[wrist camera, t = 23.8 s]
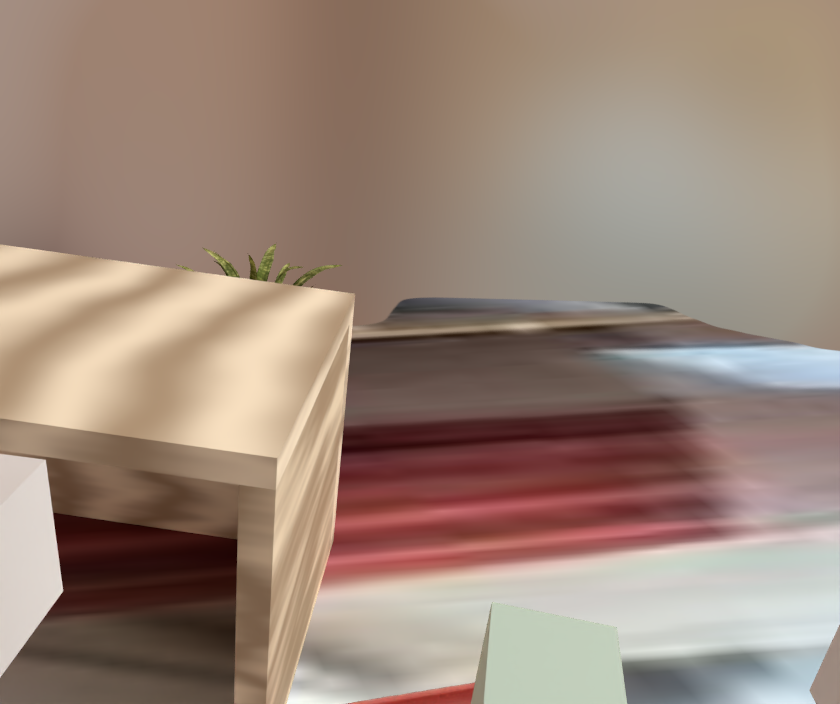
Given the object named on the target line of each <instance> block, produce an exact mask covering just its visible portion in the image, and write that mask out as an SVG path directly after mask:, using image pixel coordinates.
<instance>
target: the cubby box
mask: <svg viewBox="0 0 840 704" xmlns="http://www.w3.org/2000/svg"><path fill="white" fill-rule="evenodd" d="M354 301H355V294H351V293H344V292H337V291H329V290H322V289H315V288H308V287H301V286H294V285H287V284H280V283H273V282H265V281H258V280H251V279H244V278H237V277H229V276H222V275H215V274H208V273H200V272H194V271H186V270H179V269H171V268H164V267H157V266H150V265H142V264H136V263H129V262H122V261H114V260H107V259H100V258H93V257H86V256H79V255H71V254H64V253H57V252H49V251H43V250H35V249H28V248H21V247H14V246H7V245H0V454H5V455H13V456H20V457H28V458H36V459H44V460H46V466H47V473H48V481H49V488H50V496H51V503H52V511H53V513H59V514H66V515H73V516H80V517H87V518H93V519H100V520H107V521H114V522H121V523H128V524H134V525H141V526H148V527H155V528H162V529H169V530H176V531H182V532H189V533H196V534H203V535H210V536H217V537H224V538H230V539H237V540H238V542H237V589H236V636H235V682H234V704H286V703H287V700H288V696H289V693H290V689H291V686H292V682H293V679H294V675H295V672H296V668H297V665H298V661H299V658H300V654H301V651H302V647H303V644H304V640H305V637H306V633H307V630H308V626H309V623H310V619H311V616H312V612H313V609H314V605H315V602H316V598H317V595H318V592H319V588H320V585H321V581H322V578H323V574H324V571H325V567H326V564H327V560H328V557H329V553H330V550H331V546H332V543H333V538H334V526H335V515H336V504H337V493H338V481H339V470H340V459H341V447H342V436H343V425H344V414H345V402H346V391H347V380H348V368H349V357H350V346H351V335H352V323H353V311H354Z"/></svg>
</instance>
